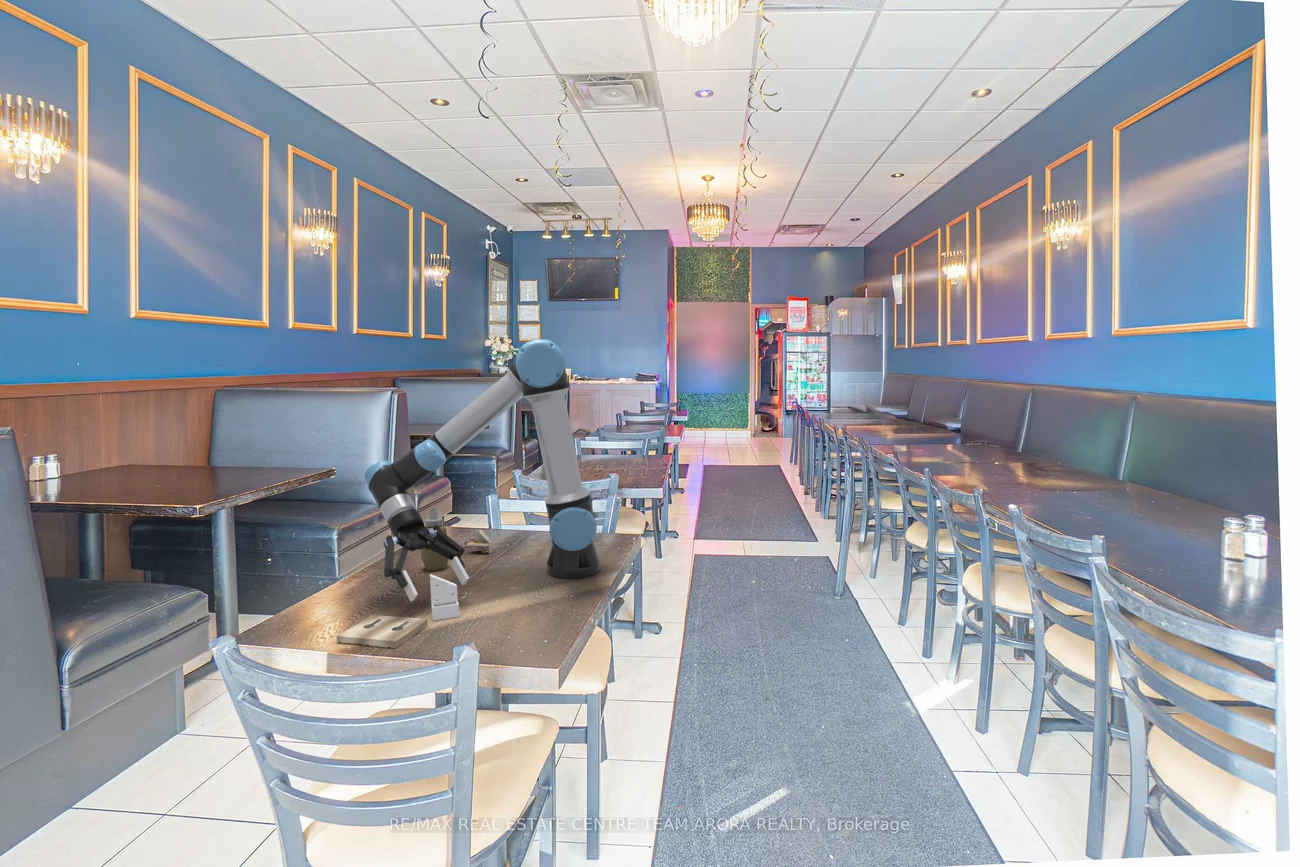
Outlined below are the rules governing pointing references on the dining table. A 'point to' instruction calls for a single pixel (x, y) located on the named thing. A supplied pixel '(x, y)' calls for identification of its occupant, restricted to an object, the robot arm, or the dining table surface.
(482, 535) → the architectural model
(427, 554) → the squeeze bottle
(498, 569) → the dining table surface
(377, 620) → the mount board
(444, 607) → the white angled block
